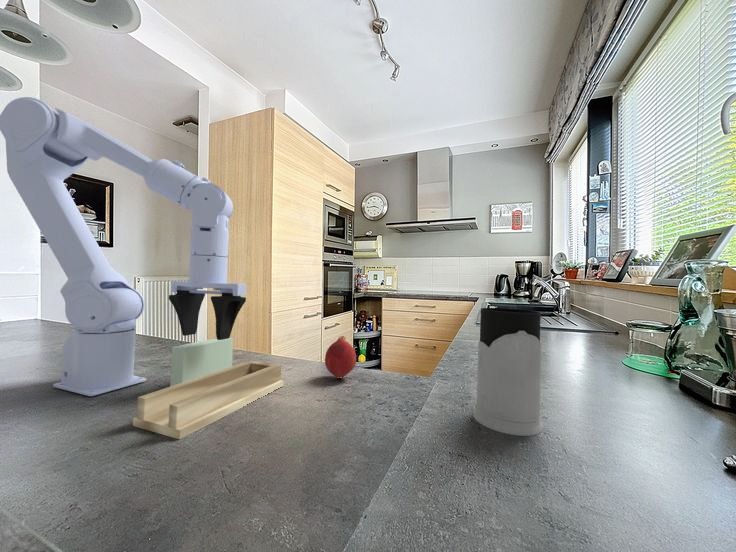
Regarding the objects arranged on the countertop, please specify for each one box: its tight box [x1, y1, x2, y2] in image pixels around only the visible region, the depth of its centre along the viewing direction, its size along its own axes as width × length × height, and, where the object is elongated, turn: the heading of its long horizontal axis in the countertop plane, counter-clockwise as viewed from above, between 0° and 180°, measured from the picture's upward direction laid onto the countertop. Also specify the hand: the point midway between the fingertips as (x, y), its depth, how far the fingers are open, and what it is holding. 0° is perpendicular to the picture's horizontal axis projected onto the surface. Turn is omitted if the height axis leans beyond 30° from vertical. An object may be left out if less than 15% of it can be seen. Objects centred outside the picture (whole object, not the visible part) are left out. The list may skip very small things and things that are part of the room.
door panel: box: [169, 337, 234, 387], centre depth 52 cm, size 2×10×7 cm, turn 160°
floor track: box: [132, 360, 284, 440], centre depth 44 cm, size 8×19×4 cm, turn 160°
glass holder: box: [472, 307, 544, 437], centre depth 45 cm, size 9×14×15 cm, turn 177°
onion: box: [324, 334, 357, 378], centre depth 57 cm, size 6×6×8 cm
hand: (205, 336), depth 52 cm, fingers open, 7 cm apart
